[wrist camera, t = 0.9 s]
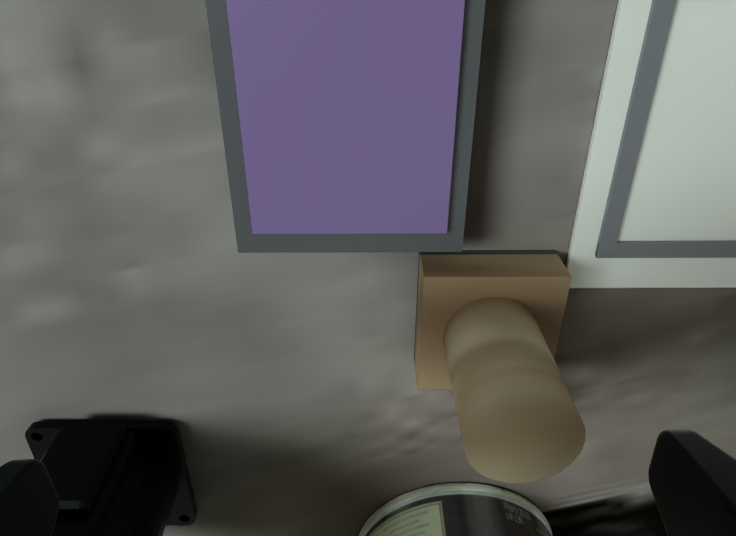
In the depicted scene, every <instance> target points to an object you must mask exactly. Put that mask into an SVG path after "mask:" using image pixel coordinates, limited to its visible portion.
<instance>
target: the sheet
mask: <svg viewBox="0 0 736 536" xmlns="http://www.w3.org/2000/svg"><path fill="white" fill-rule="evenodd" d="M566 268H567V270H568V272H569V273H570V275H571V276H572V278H571V283H570V287H569V288H736V0H619V2H618V7H617V12H616V17H615V22H614V27H613V32H612V37H611V42H610V47H609V52H608V57H607V62H606V67H605V72H604V77H603V82H602V87H601V92H600V97H599V102H598V107H597V112H596V117H595V122H594V127H593V132H592V137H591V142H590V147H589V152H588V157H587V162H586V167H585V172H584V177H583V182H582V187H581V192H580V197H579V202H578V207H577V212H576V217H575V222H574V227H573V232H572V237H571V242H570V247H569V252H568V257H567V262H566Z"/></svg>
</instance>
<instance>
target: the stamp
mask: <svg viewBox="0 0 736 536" xmlns="http://www.w3.org/2000/svg"><path fill="white" fill-rule="evenodd" d="M571 278H572V276H571V275H570V273H569V272H568V270H567V268H566V267H565V265H564V264H563V262H562V260H561V259H560V257H559V256H558V254H557V253H556V251H555V250H462V252H419V266H418V286H417V306H416V325H415V345H414V363H415V371H416V379H417V388H418V390H453V395H454V400H455V405H456V410H457V415H458V420H459V425H460V430H461V435H462V440H463V445H464V450H465V455H466V457H467V460H468V462H469V463H470V465H471V466H472V467H473V468H474V469H475V470H476V471H477V472H479V473H480V474H482V475H483V476H485V477H487V478H489V479H492V480H495V481H499V482H504V483H529V482H534V481H539V480H542V479H545V478H548V477H550V476H553V475H555V474H557V473H558V472H560V471H562V470H563V469H565V468H566V467H567V466H569V465H570V464H571V463H572V462H573V461H574V460H575V459H576V457H577V456H578V455H579V453H580V452H581V450H582V448H583V445H584V442H585V427H584V424H583V421H582V419H581V417H580V415H579V413H578V410H577V408H576V406H575V404H574V402H573V400H572V397H571V395H570V393H569V391H568V389H567V387H566V384H565V382H564V380H563V378H562V376H561V374H560V371H559V369H558V367H557V365H556V363H555V361H554V360H555V355H556V350H557V345H558V341H559V336H560V331H561V326H562V321H563V316H564V312H565V307H566V302H567V297H568V292H569V287H570V283H571Z"/></svg>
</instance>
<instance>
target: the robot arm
mask: <svg viewBox="0 0 736 536" xmlns="http://www.w3.org/2000/svg"><path fill="white" fill-rule="evenodd" d="M164 432H166V433H168V434H166V433H164ZM25 437H26V439H27V442H28V444H29V447H30V449H31V451H32V454H33V456H34V459H27V460H13V461H9V462H7V463H6V464H4V465H2V466H1V467H0V536H163V533H164V530H165V527H166V525H190V524H192V523H194V521H195V518H196V515H197V509H196V505H195V500H194V496H193V491H192V487H191V483H190V478H189V474H188V470H187V465H186V461H185V457H184V452H183V448H182V444H181V439H180V435H179V430H178V428H177V426H176V425H175V424H173V423H171V422H167V421H86V422H34V423H32V424H31V425H30V427H29V428H28V430H27V431H26V433H25ZM648 476H649V483H650V487H651V490H652V492H653V495H654V498H655V501H656V504H657V507H658V509H659V512H660V515H661V518H662V521H663V523H664V526H665V529H666V532H667V535H668V536H736V460H735V459H734V458H732V457H731V456H730V455H728V454H727V453H725V452H724V451H722V450H721V449H719V448H718V447H716V446H715V445H713V444H712V443H711V442H709V441H708V440H706V439H705V438H703V437H702V436H700V435H699V434H697V433H696V432H694V431H691V430H666V431H662V432H661V433H660V434H659V436H658V438H657V441H656V445H655V449H654V452H653V456H652V459H651V463H650V466H649V475H648Z"/></svg>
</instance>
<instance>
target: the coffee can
mask: <svg viewBox="0 0 736 536" xmlns="http://www.w3.org/2000/svg"><path fill="white" fill-rule="evenodd" d="M359 536H552V531H551V528H550V525H549V523H548V521H547V519H546V518H545V516H544V515H543V514H542V513H541V511H540V510H539V509H538V508H537V507H536V506H535V505H533V504H532V503H531V502H530V501H528V500H527V499H525V498H524V497H522V496H520V495H518V494H516V493H514V492H511V491H508V490H506V489H502V488H498V487H495V486H491V485H486V484H481V483H464V482H456V483H443V484H436V485H431V486H426V487H423V488H419V489H415V490H412V491H410V492H407V493H404V494H402V495H400V496H398V497H396V498H394V499H392V500H391V501H389V502H387V503H386V504H385V505H383V506H382V507H380V508H379V509H378V510H377V511H375V512H374V513H373V514H372V515H371V516H370V517H369V518H368V520H367V521H366V523H365V524H364V526H363V528H362V529H361V531H360V533H359Z"/></svg>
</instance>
